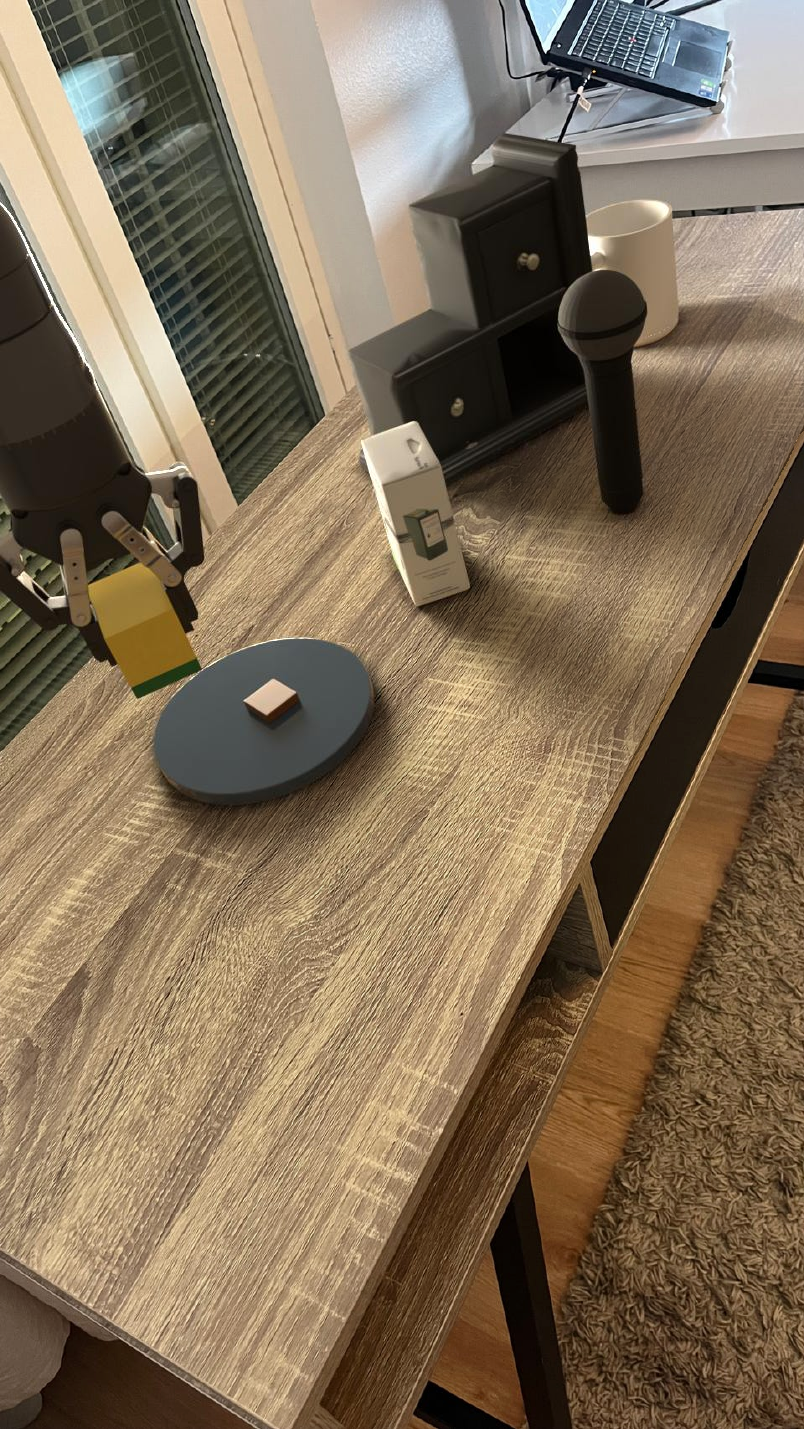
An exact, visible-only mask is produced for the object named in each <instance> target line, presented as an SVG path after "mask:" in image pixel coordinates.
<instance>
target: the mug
mask: <svg viewBox="0 0 804 1429" xmlns="http://www.w3.org/2000/svg"><path fill="white" fill-rule="evenodd" d="M585 215H586V222H587V230H588V239H589V247H590V255H591V262H592V270H593V271H596V270H613V271H617V272H620V273H622V274H624V275H626V276H628V277H629V278H630V279H631V280H633V281H634V282H635V284H636V285H637V286H638V288H639V289H640V290H641V293H642V295H643V297H644V300H645V301H646V304H647V312H648V313H647V317H646V320H645V324H644V328H643V331H642V333H641V336H640V337H639V339H638V340H637V342H636V343H635V345H634V348H637V347H642V346H646V345H649V344H652V343H655V342H657V341H659V340H662V339H663V338H664V337H666V336H667V335H669V334H670V333H671V332H672V331H673V330H674V329H675V328H676V326H677V324H678V323H679V310H680V309H679V296H678V281H677V280H678V279H677V266H676V251H675V237H674V236H675V234H674V220H673V207H672V206H671V205H670V203H668V202H665V201H663V200H658V199H647V198H646V199H645V198H644V199H634V200H633V199H632V200H631V199H630V200H626V201H619V202H615V203H613V204H609V205H605V206H603V207H600V208H598V209H595V210H593V211H591V212H589V213H588V214H585ZM677 317H678V318H677ZM676 319H677V320H676ZM675 321H676V322H675ZM674 322H675V323H674ZM673 323H674V324H673ZM668 327H669V328H668ZM664 329H665V330H664ZM659 332H660V333H659ZM654 334H655V335H654ZM651 335H652V336H651ZM648 336H649V337H648ZM645 337H646V338H645Z"/></svg>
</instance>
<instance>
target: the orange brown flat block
mask: <svg viewBox="0 0 804 1429" xmlns="http://www.w3.org/2000/svg"><path fill="white" fill-rule="evenodd" d="M299 700H300V699H299V697H298V694H297V692H295V691H293V690H292V689H290V688H288V687H287V686H285V685H283V684H282V683H280V682H278V681H277V680H275V679H272V680H271V681H270V682H268V683H267V684H266V685H264V686H263V687H262V688H260V689H259V690H258V691H256V692H255V693H254V694H252V695H251V696H250V697H248V698H247V699H246V700H244V703H245V706H246V708H247V709H248V710H250V711H251V712H253V713H255V714H256V715H258V716H259V717H261V718H262V719H264V720H265V721H267V722H268V723H271V722H272V721H273V720H275V719H276V718H277V717H279V716H280V715H281V714H283V713H284V712H285V711H286V710H288V709H289V708H290V707H292V706H293V705H294V704H295V703H297V702H298V701H299Z"/></svg>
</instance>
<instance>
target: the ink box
mask: <svg viewBox="0 0 804 1429" xmlns="http://www.w3.org/2000/svg"><path fill="white" fill-rule="evenodd" d="M360 443H361V447H362V449H363V451H364V454H365V458H366V462H367V465H368V469H369V472H370V473H369V472H368V473H369V475H370V478H371V479H370V480H371V483H372V486H373V489H374V493H375V497H376V501H377V504H378V507H379V511H380V514H381V518H382V522H383V525H384V528H385V532H386V536H387V539H388V542H389V547H390V550H391V554H392V558H393V560H394V562H395V565H396V567H397V569H398V572H399V573H400V576H401V578H402V580H403V582H404V584H405V586H406V589H407V591H408V593H409V595H410V597H411V599H412V601H413V603H414V605H415V606H416V607H420V606H421V607H422V606H425V605H426V604H431V603H433V602H436V601H438V600H442V599H444V598H447V597H450V596H453V595H456V594H458V593H463V592H465V591H467V590H469V589H470V588H471V585H470V584H471V583H470V580H469V576H468V572H467V567H466V563H465V559H464V556H463V551H462V547H461V543H460V539H459V535H458V531H457V526H456V522H455V518H454V514H453V510H452V505H451V501H450V498H449V494H448V489H447V485H445V481H444V476H443V472H442V468H441V465H440V463H439V460H438V459H437V457H436V455H435V454H434V452H433V450H432V448H431V446H430V444H429V442H428V441H427V439H426V437H425V435H424V433H423V431H422V430H421V428H420V426H419V423H417V422H416V421H415V422H414V421H413V422H409V423H407V424H404V425H401V426H398V427H396V428H393V429H390V430H387V431H384V432H381V433H378V434H375V435H372V436H371V435H370V436H367V437H364V438H361V440H360Z"/></svg>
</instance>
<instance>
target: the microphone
mask: <svg viewBox="0 0 804 1429" xmlns="http://www.w3.org/2000/svg"><path fill="white" fill-rule="evenodd" d="M647 313H648V312H647V304H646V301H645V300H644V297H643V295H642V293H641V290H640V289H639V288H638V286H637V285H636V284H635V282H634V281H633V280H631V279H630V278H629V277H628V276H626V275H624V274H622V273H620V272H617V271H613V270H596V271H592V272H589V273H587V274H585V275H584V276H582V277H580V278H579V279H577V280H576V281H575V282H574V283H573V284H572V285H571V286H570V287H569V289H568V290H567V292H566V293H565V295H564V297H563V299H562V302H561V305H560V308H559V314H558V319H557V324H558V330H559V332H560V334H561V336H562V338H563V340H564V342H565V343H566V345H567V346H568V347H569V348H570V350H571V351H573V352H574V353H575V354H577V355H578V357H579V360H580V362H581V364H582V366H583V369H584V374H585V382H586V390H587V397H588V405H589V407H588V411H589V412H588V413H589V420H590V427H591V435H592V442H593V449H594V457H595V464H596V472H597V481H598V485H599V490H600V498H601V502H602V503H603V504H604V505H605V507H607V509H608V510H609V511H610V512H611V513H612V514H613V515H616V516H627V515H630V514H632V513H634V512H635V511H636V510H637V509H638V507H639V505H640V503H641V501H642V499H643V497H644V496H645V491H644V480H643V479H644V474H643V463H642V454H641V445H640V444H641V443H640V435H639V425H638V424H639V423H638V414H637V404H636V393H635V383H634V373H633V364H632V363H633V362H632V360H633V352H634V348H635V347H634V345H635V343H636V342H637V340H638V339H639V337H640V336H641V333H642V331H643V328H644V324H645V320H646V317H647Z"/></svg>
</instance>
